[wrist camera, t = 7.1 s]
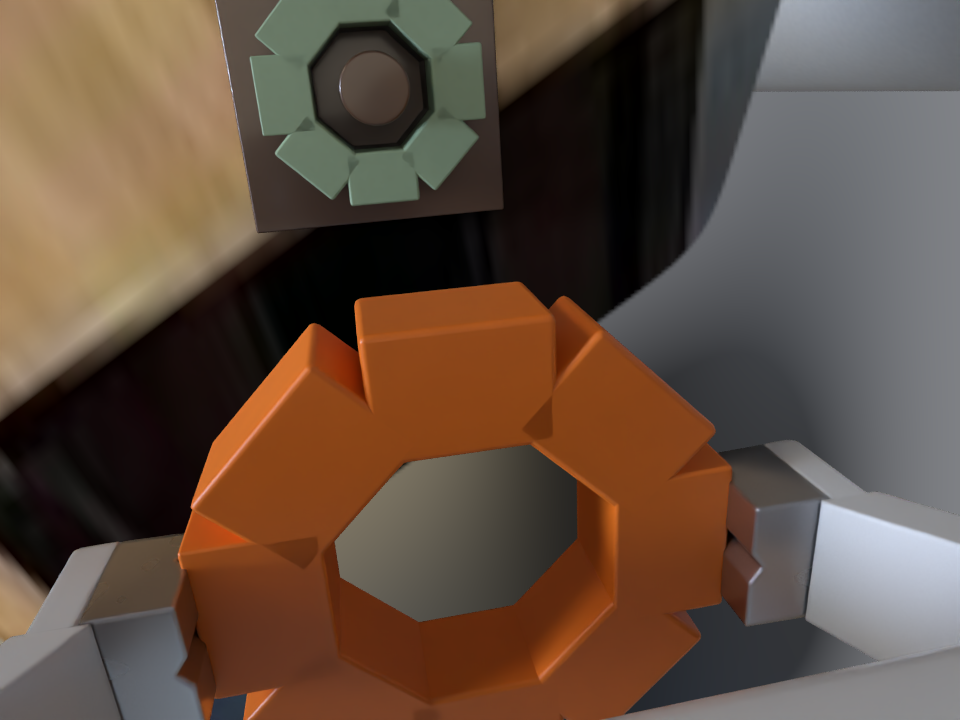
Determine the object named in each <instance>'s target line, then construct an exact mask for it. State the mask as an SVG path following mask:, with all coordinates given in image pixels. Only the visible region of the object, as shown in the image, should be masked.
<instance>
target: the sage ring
mask: <svg viewBox="0 0 960 720" xmlns="http://www.w3.org/2000/svg"><path fill="white" fill-rule="evenodd" d="M471 25H472V21H471V20H470V19H469V18H468V17H467V16H466V15H465V14H464V13H463V12H462V11H461V10H460V9H459V8H458V7H457V6H456V5H455V4H454V3H453V2H452V1H450V0H280V1H279V2H278V4H277V5H276V6H275V8H274V9H273V10H272V12H271V13H270V14H269V16H268V17H267V19H266V20H265V21H264V23H263V24H262V25H261V27H260V28H259V30H258V31H257V32H256V34H255V37H256V38H257V39H258V40H259V41H261V42H262V43H263V44H264V45H265V46H266V47H268V48H269V49H270V50H271V51H272V52H273V53H275V54H276V55H261V56H251V57H250V63H251V69H252V75H253V80H254V86H255V92H256V98H257V104H258V110H259V116H260V122H261V127H262V133H263V136H273V135H286V134H288V136H287V137H286V138H285V140H284V141H283V142H282V143H281V145H280V146H279V147H278V149H277V150H276V152H275V155H276V156H277V157H278V158H280V159H281V160H282V161H283V162H285V163H286V164H287V165H288V166H290V167H291V168H292V169H293V170H295V171H296V172H297V173H298V174H300V175H301V176H302V177H303V178H305V179H306V180H307V181H309V182H310V183H311V184H312V185H314V186H315V187H316V188H317V189H319V190H320V191H321V192H322V193H324V194H325V195H326V196H327V197H329V198H330V199H332V200H333V199H335V198H336V197H337V195H338V194H339V193H340V191H341V190H342V189H343V188H344V186H345V185H346V184H347V183H348V189H349V196H350V204H351V205H352V206H361V205H371V204H382V203H393V202H403V201H414V200H419V198H420V194H419V184H418V177H419V178H421V179H422V180H423V181H424V182H425V183H426V184H428V185H429V186H430V187H431V188H432V189H433V190H437V189H438V188H439V187H440V185H441V184H442V183H443V182H444V181H445V179H446V178H447V177H448V176H449V174H450V173H451V172H452V171H453V169H454V168H455V167H456V166H457V165H458V163H459V162H460V161H461V160H462V158H463V157H464V156H465V155H466V154H467V152H468V151H469V150H470V149H471V147H472V146H473V145H474V144H475V142H476V141H477V140H478V138H479V136H478V134H476V133H475V132H474V131H473V130H472V129H471V128H470V127H469V126H468V125H467V124H466V123H464V122H463V121H464V120H477V119H484V118H485V117H486V112H485V95H484V79H483V62H482V45H481V43H479V42H473V43H458V42H459V41H460V39H461V38H462V37H463V35H464V34H465V33H466V32H467V30H468V29H469V28H470V27H471ZM372 26H388V27H390V28H391V29H392V30H393V31H394V32H395V33H396V34H397V35H398V36H399V37H400V38H401V39H402V40H403V41H404V42H406V43H407V44H408V45H409V46H410V47H411V48H412V49H413V50H414V51H415V52H416V53H417V54H418V55H419V56H420V57H422V58H423V59H424V60H425V72H426V83H427V95H428V106H429V110H428V111H427V113H426V114H425V115H424V116H423V118H422V119H421V120H420V121H419V123H418V124H417V125H416V126H415V128H414V129H413V130H412V131H411V133H410V134H409V135H408V136H407V138H406V139H405V140H404V142H403V143H402V144H401V145H400V146H392V147H380V148H368V149H356V150H354V149H353V148H352V147H351V146H350V145H349V144H347V143H346V142H345V141H344V140H343V139H341V138H340V137H339V136H338V135H337V134H335V133H334V132H333V131H332V130H331V129H329V128H328V127H327V126H326V125H325V124H324V123H322V122H321V121H320V120H319V119H318V118H317V114H316V107H315V100H314V93H313V86H312V79H311V72H310V67H311V65H312V64H313V63H314V61H315V60H316V59H317V57H318V56H319V55H320V53H321V52H322V51H323V49H324V48H325V47H326V45H327V44H328V43H329V41H330V40H331V39H332V38H333V36H334V35H335V34H336V32H337V31H338V30H339V28H354V27H372Z"/></svg>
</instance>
